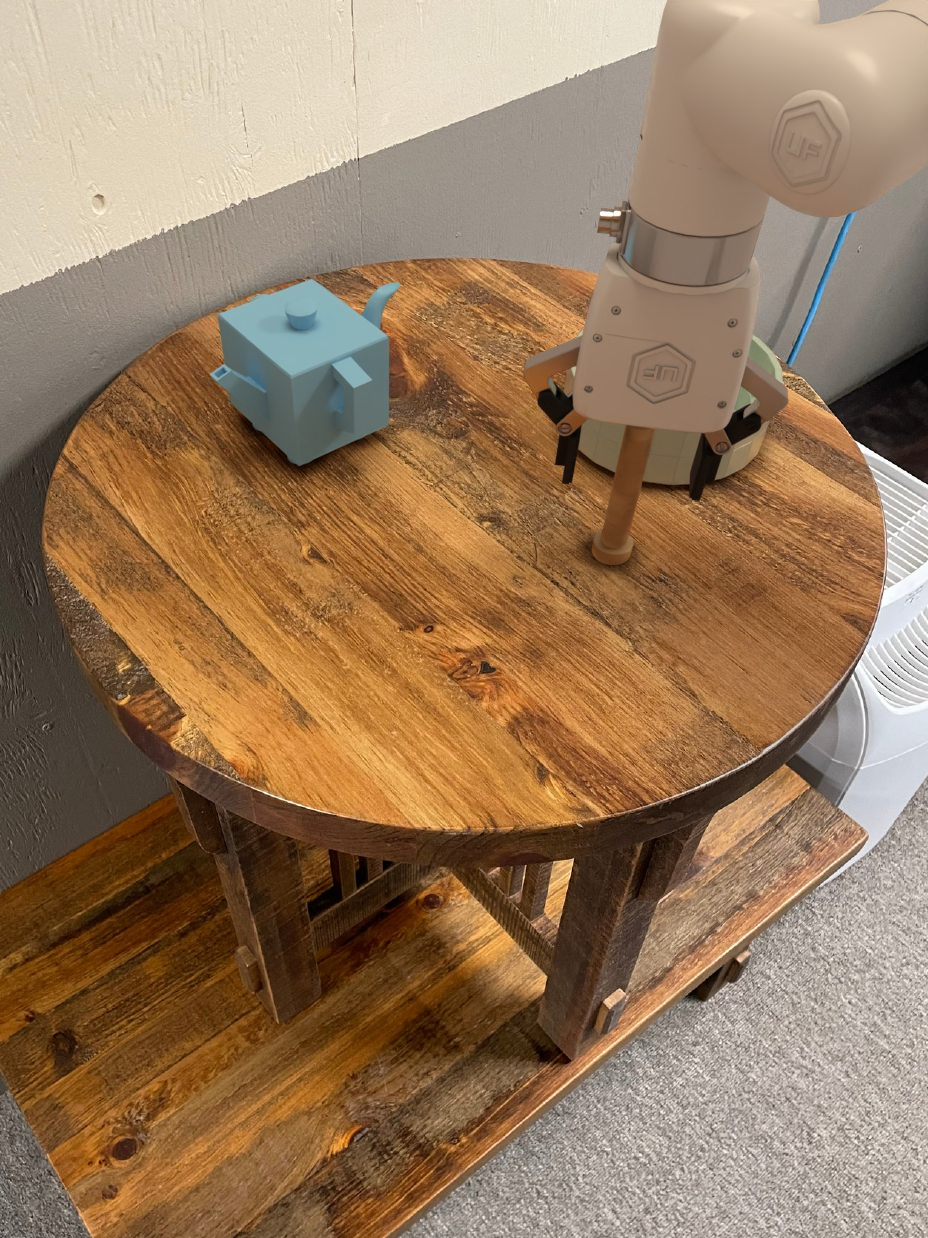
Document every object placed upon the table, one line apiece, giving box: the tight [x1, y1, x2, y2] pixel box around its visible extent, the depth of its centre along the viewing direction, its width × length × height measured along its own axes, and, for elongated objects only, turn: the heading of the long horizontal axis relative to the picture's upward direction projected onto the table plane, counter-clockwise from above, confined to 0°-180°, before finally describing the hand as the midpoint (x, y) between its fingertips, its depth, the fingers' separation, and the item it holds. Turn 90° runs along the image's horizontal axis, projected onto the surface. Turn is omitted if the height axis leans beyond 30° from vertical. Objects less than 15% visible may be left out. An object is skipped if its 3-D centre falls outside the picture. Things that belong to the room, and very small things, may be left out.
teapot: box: [209, 278, 401, 467], centre depth 82 cm, size 16×18×11 cm
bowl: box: [563, 328, 784, 486], centre depth 84 cm, size 17×17×6 cm
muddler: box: [591, 425, 655, 566], centre depth 72 cm, size 3×3×12 cm
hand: (630, 479), depth 71 cm, fingers open, 8 cm apart
